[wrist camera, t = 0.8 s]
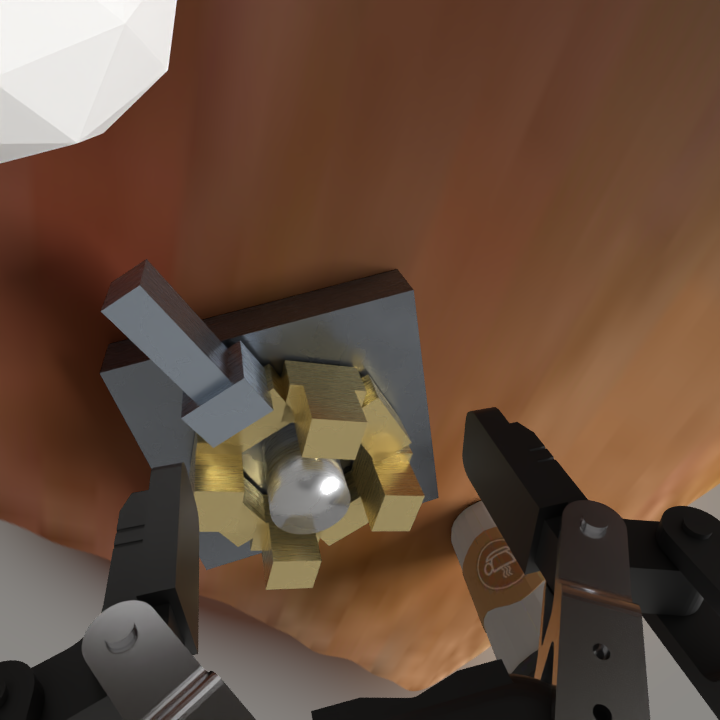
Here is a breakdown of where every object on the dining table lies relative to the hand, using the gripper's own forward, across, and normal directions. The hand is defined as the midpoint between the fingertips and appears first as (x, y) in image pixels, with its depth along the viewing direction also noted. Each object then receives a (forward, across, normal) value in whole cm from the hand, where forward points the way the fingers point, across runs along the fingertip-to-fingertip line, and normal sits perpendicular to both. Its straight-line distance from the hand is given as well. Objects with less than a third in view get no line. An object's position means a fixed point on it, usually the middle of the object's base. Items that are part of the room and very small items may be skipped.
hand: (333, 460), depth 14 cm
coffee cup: (+18, -15, +27) cm, 36 cm away
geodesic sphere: (+18, +8, -13) cm, 24 cm away
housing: (+18, 0, +12) cm, 22 cm away
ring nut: (+15, +2, +9) cm, 17 cm away
